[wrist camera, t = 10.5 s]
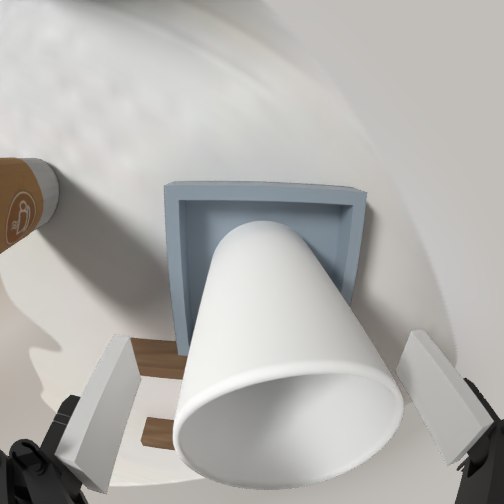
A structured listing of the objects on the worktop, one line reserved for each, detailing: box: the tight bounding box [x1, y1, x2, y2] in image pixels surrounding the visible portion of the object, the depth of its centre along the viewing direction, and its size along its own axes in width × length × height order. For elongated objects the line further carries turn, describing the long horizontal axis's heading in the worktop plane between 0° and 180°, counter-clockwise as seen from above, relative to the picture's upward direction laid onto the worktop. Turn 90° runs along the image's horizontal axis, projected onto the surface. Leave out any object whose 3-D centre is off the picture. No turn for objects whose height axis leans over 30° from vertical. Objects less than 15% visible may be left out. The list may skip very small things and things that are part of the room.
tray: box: [164, 181, 367, 356], centre depth 22 cm, size 14×14×3 cm
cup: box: [173, 221, 404, 490], centre depth 15 cm, size 8×8×16 cm
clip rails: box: [130, 338, 188, 450], centre depth 26 cm, size 14×9×4 cm, turn 178°
